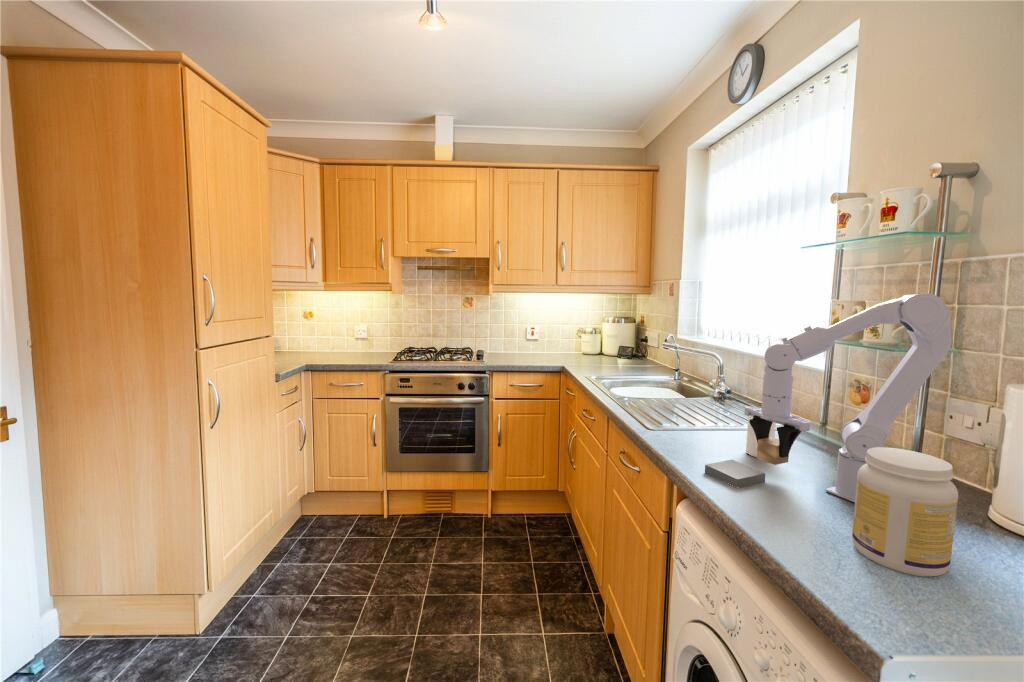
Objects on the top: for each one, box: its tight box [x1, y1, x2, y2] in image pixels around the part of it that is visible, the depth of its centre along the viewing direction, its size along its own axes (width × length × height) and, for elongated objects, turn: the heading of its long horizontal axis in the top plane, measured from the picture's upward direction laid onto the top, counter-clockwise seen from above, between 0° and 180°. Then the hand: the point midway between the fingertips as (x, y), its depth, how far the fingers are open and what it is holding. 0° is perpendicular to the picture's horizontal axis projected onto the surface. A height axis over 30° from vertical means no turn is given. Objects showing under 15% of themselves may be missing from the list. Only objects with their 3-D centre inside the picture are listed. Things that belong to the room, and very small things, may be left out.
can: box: [745, 416, 777, 459], centre depth 117 cm, size 6×6×12 cm
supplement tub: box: [851, 446, 959, 578], centre depth 71 cm, size 12×12×17 cm
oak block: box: [756, 437, 790, 466], centre depth 101 cm, size 4×4×4 cm
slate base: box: [704, 459, 766, 488], centre depth 103 cm, size 9×9×2 cm
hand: (773, 452), depth 101 cm, fingers closed on oak block, 4 cm apart
